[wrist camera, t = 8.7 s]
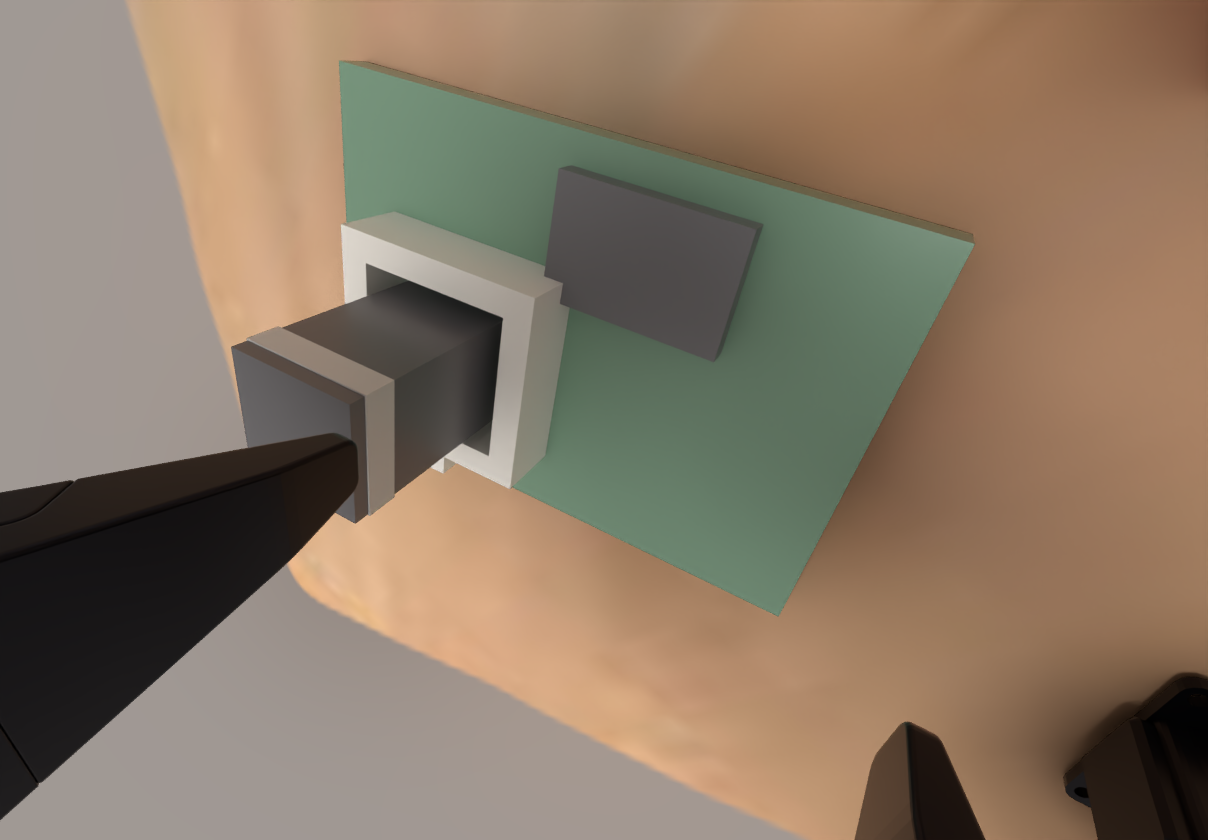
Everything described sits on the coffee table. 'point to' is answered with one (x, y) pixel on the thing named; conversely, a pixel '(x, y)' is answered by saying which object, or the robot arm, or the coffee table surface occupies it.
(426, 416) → the black plug
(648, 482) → the circuit board
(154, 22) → the coffee table surface
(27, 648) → the robot arm
